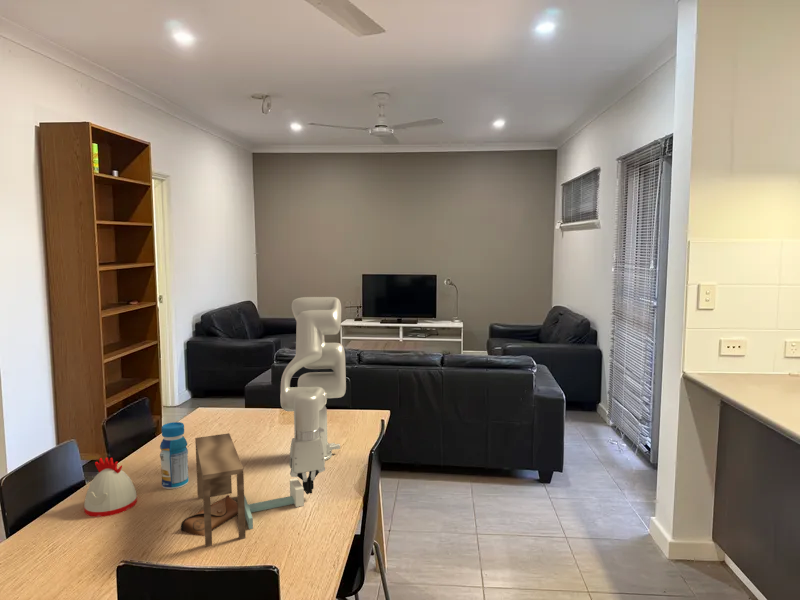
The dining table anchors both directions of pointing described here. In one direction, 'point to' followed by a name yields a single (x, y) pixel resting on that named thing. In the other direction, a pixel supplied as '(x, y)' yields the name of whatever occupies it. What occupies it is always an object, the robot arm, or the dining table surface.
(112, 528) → the dining table surface
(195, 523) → the sunglasses case
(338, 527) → the dining table surface
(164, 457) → the beverage bottle
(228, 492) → the tunnel
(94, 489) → the kitchen timer
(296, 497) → the mint t-bar
